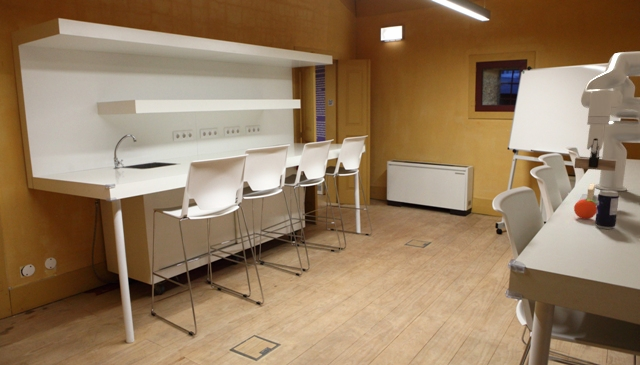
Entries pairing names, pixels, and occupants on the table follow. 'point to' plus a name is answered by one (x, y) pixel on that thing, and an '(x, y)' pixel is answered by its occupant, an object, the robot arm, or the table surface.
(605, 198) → the beverage can
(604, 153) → the robot arm
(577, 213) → the tomato
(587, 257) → the table surface
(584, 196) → the ridge stand
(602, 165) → the walnut rod
